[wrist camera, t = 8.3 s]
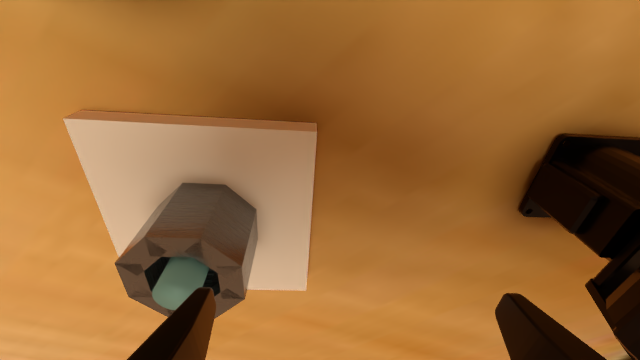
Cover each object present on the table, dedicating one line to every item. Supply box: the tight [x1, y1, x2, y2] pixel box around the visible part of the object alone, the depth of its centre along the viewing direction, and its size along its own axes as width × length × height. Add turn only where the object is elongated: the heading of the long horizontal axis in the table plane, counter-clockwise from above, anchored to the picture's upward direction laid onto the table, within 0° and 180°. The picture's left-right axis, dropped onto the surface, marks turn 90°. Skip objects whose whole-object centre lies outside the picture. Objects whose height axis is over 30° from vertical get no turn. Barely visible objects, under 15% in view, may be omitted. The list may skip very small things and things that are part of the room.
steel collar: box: [115, 183, 258, 318], centre depth 18 cm, size 6×6×5 cm
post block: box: [63, 110, 317, 310], centre depth 18 cm, size 14×14×8 cm
